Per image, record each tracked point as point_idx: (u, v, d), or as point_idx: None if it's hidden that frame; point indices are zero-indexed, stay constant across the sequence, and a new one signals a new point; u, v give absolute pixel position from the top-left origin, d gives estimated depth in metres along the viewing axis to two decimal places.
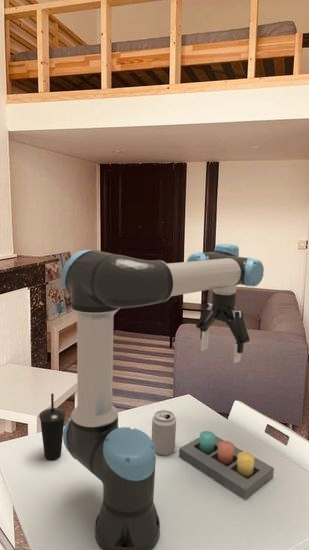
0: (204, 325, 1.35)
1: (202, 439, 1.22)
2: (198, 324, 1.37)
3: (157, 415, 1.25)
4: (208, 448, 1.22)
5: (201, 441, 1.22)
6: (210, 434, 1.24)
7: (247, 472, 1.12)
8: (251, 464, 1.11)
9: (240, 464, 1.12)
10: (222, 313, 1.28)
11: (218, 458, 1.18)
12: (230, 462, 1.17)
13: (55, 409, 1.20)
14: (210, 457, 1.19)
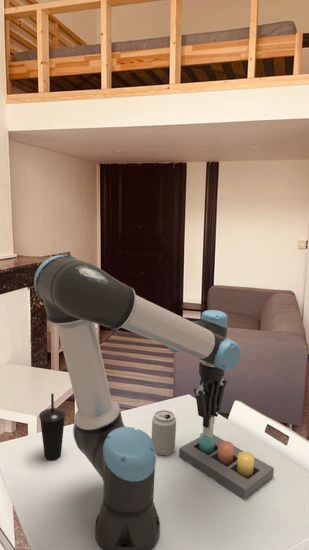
0: None
1: (202, 440, 1.22)
2: None
3: (157, 415, 1.25)
4: (208, 449, 1.22)
5: (201, 442, 1.22)
6: None
7: (247, 472, 1.12)
8: (251, 464, 1.11)
9: (240, 464, 1.12)
10: None
11: (218, 458, 1.18)
12: (230, 462, 1.17)
13: (55, 409, 1.20)
14: (210, 457, 1.19)
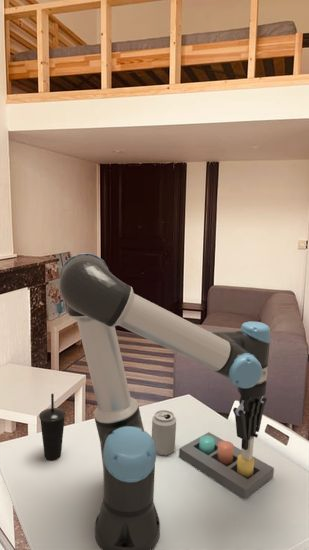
0: None
1: (201, 444, 1.22)
2: None
3: (157, 415, 1.25)
4: (208, 453, 1.22)
5: (201, 446, 1.23)
6: (210, 438, 1.24)
7: (247, 474, 1.12)
8: (251, 466, 1.11)
9: (240, 466, 1.12)
10: None
11: (218, 458, 1.18)
12: (230, 462, 1.17)
13: (55, 409, 1.20)
14: (210, 457, 1.19)
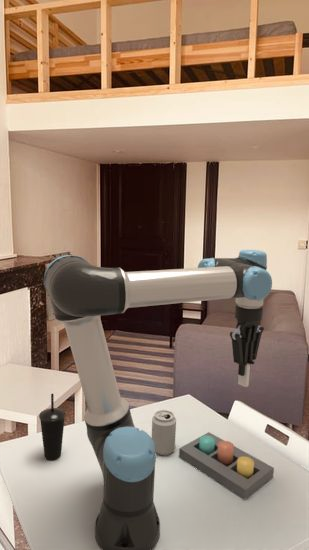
0: None
1: (201, 444, 1.22)
2: None
3: (157, 415, 1.25)
4: (208, 453, 1.22)
5: (201, 446, 1.23)
6: (210, 438, 1.24)
7: (247, 477, 1.12)
8: (250, 469, 1.12)
9: (239, 469, 1.12)
10: None
11: (218, 458, 1.18)
12: (230, 462, 1.17)
13: (55, 409, 1.20)
14: (210, 457, 1.19)
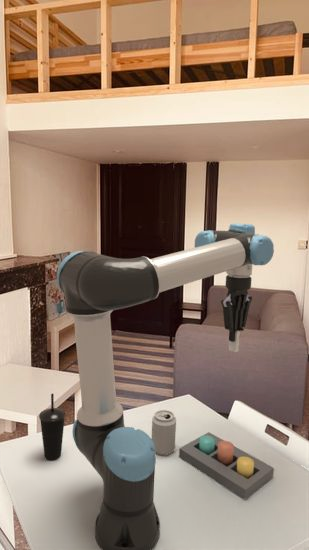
0: None
1: (201, 444, 1.22)
2: None
3: (157, 415, 1.25)
4: (208, 453, 1.22)
5: (201, 446, 1.23)
6: (210, 438, 1.24)
7: (247, 477, 1.12)
8: (250, 469, 1.12)
9: (239, 469, 1.12)
10: None
11: (218, 458, 1.18)
12: (230, 462, 1.17)
13: (55, 409, 1.20)
14: (210, 457, 1.19)
